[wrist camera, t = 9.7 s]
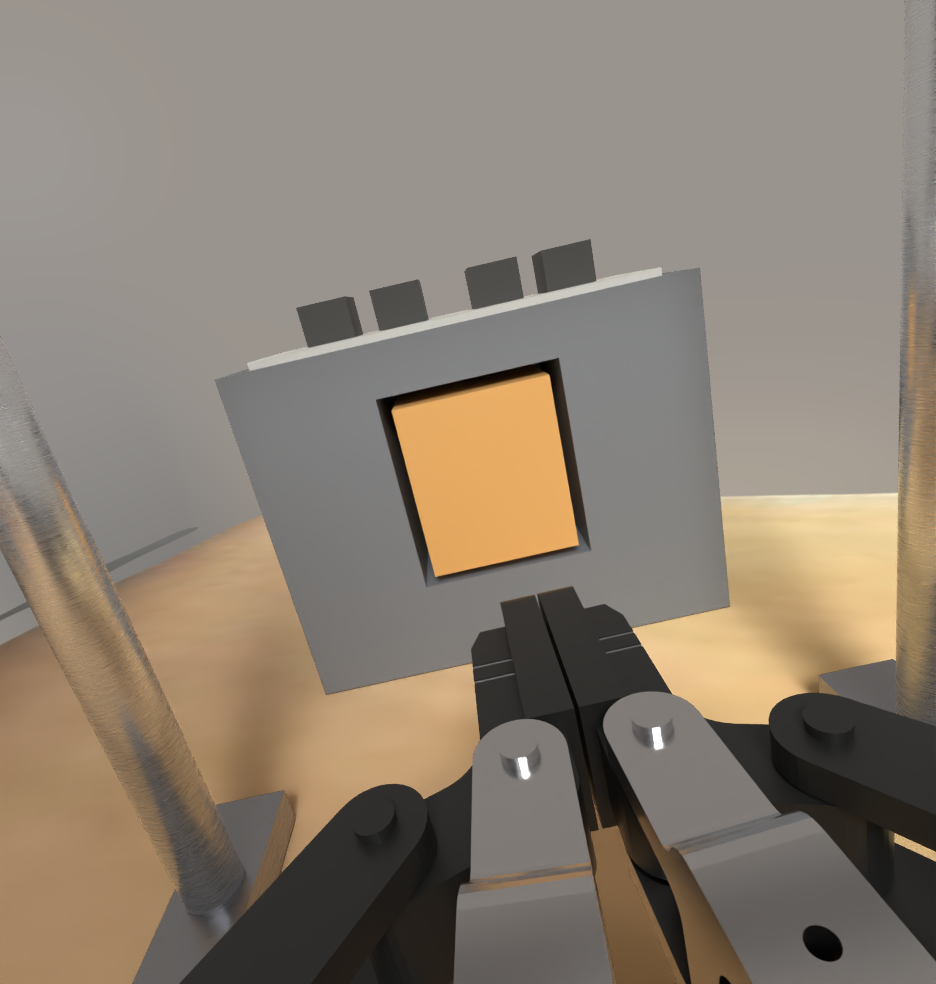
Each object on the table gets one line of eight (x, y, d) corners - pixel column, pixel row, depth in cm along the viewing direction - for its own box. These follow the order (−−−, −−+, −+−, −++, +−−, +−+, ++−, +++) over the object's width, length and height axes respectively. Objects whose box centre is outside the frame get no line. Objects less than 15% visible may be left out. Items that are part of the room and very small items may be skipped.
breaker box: (326, 694, 25) (196, 327, 21) (352, 605, 33) (261, 321, 28) (729, 606, 25) (694, 210, 20) (661, 536, 33) (624, 237, 28)
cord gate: (135, 1054, 14) (-826, -493, 6) (225, 833, 19) (-204, -99, 12) (1090, 856, 13) (1396, -1104, 5) (892, 689, 19) (904, -379, 11)
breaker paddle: (435, 576, 24) (391, 410, 22) (436, 531, 28) (400, 392, 26) (579, 544, 24) (549, 374, 21) (555, 505, 28) (529, 362, 26)
